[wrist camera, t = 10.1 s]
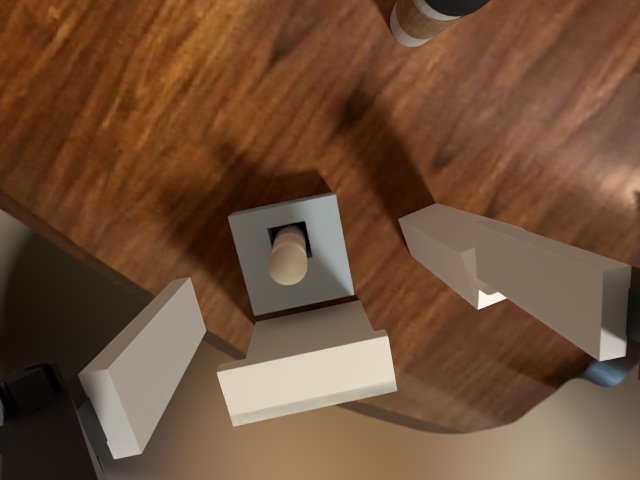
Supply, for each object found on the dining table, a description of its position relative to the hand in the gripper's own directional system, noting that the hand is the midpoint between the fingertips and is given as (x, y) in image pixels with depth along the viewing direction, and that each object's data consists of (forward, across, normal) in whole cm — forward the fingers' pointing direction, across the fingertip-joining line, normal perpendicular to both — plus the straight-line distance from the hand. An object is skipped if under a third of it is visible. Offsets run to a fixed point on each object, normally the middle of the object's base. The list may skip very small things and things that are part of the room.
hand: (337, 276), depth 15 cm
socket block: (+32, -4, -7) cm, 33 cm away
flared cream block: (+31, -4, -15) cm, 35 cm away
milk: (+32, +15, -8) cm, 36 cm away
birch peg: (+32, -4, -5) cm, 32 cm away
